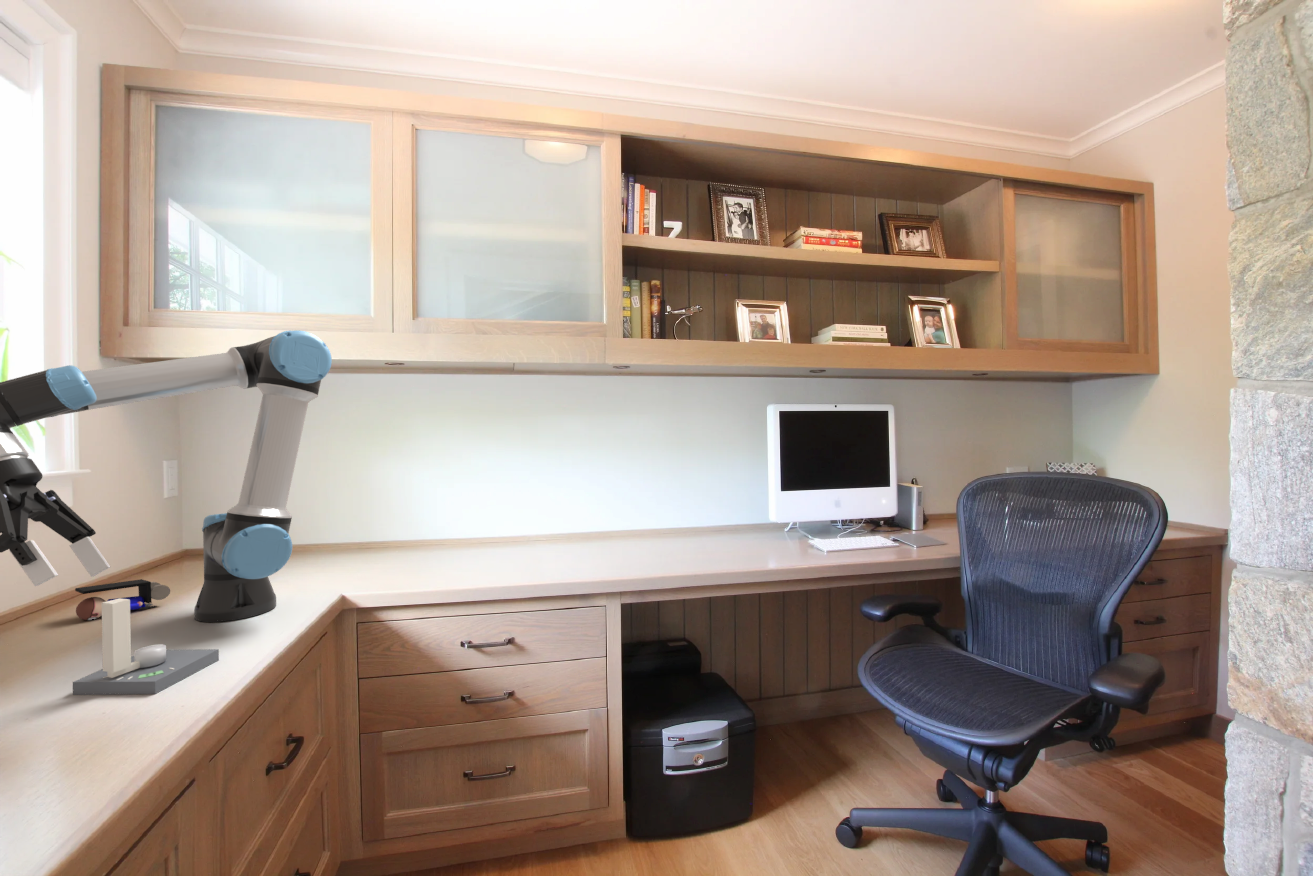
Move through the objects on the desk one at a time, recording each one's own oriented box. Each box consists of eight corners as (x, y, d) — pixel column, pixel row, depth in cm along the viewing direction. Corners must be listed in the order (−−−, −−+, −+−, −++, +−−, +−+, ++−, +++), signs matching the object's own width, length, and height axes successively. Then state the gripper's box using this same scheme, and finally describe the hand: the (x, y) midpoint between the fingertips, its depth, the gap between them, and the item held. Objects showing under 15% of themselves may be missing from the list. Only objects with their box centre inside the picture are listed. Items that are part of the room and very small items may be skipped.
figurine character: (157, 608, 137) (69, 619, 124) (161, 576, 137) (74, 584, 124) (168, 612, 133) (79, 624, 120) (172, 580, 134) (84, 588, 121)
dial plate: (146, 660, 102) (146, 649, 102) (218, 660, 102) (218, 648, 102) (72, 694, 89) (72, 681, 89) (155, 694, 89) (155, 680, 89)
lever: (155, 657, 98) (153, 588, 97) (172, 659, 97) (171, 590, 96) (99, 676, 90) (97, 602, 90) (117, 679, 89) (116, 604, 89)
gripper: (28, 483, 101) (97, 580, 103) (-104, 474, 78) (-12, 600, 79) (75, 461, 104) (141, 557, 105) (-39, 446, 80) (49, 569, 82)
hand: (76, 576), depth 92 cm, fingers open, 13 cm apart
